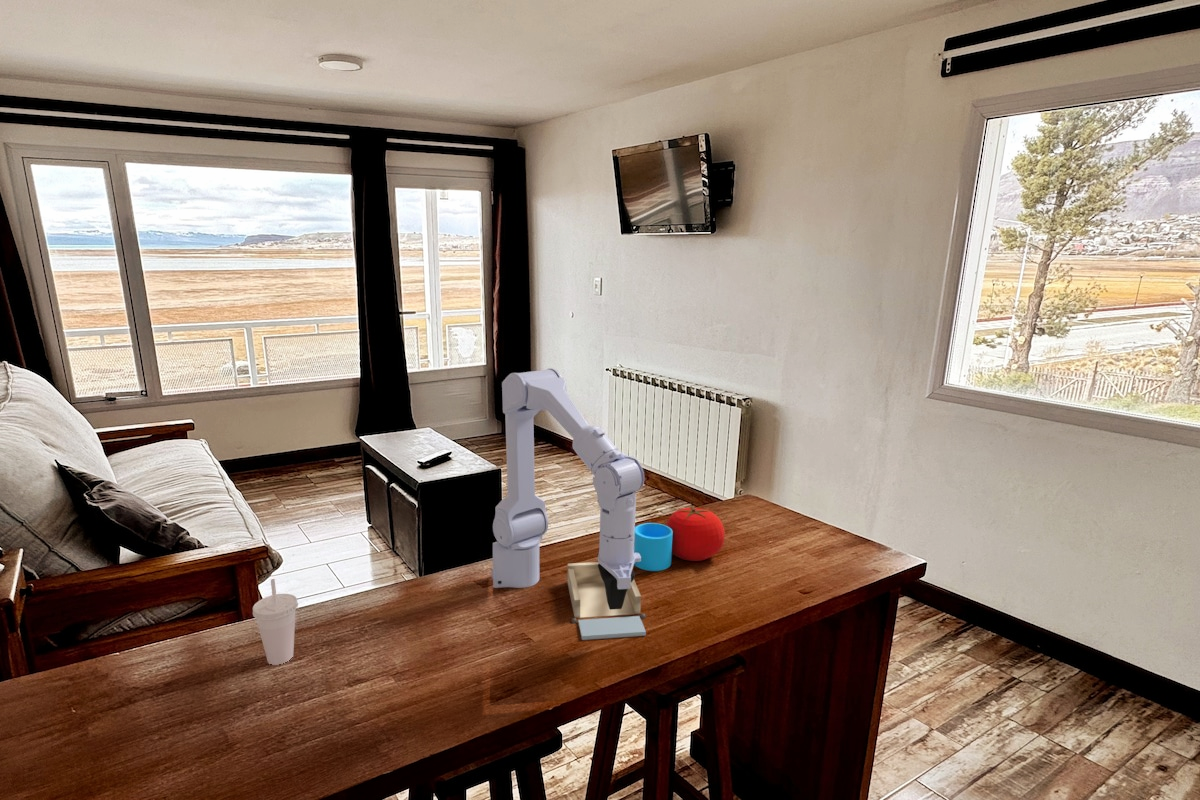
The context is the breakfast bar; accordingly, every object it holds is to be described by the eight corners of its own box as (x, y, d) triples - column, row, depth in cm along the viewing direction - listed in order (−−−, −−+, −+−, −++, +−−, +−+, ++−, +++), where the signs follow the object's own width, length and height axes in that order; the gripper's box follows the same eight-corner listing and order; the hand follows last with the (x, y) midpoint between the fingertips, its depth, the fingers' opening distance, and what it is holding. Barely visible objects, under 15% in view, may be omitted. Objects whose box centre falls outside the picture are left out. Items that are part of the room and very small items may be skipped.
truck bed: (572, 628, 112) (572, 602, 110) (564, 586, 126) (564, 563, 125) (645, 623, 114) (646, 597, 112) (629, 583, 128) (630, 560, 127)
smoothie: (257, 675, 97) (248, 592, 94) (258, 652, 103) (249, 573, 100) (303, 663, 100) (296, 583, 97) (301, 642, 106) (294, 565, 103)
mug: (678, 569, 134) (680, 533, 132) (648, 579, 130) (649, 542, 128) (644, 548, 144) (646, 514, 142) (615, 556, 139) (616, 521, 138)
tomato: (654, 548, 143) (656, 503, 141) (704, 540, 148) (707, 496, 146) (679, 572, 132) (682, 523, 130) (733, 563, 137) (736, 515, 135)
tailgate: (578, 624, 112) (582, 640, 107) (578, 619, 112) (582, 636, 106) (639, 620, 113) (645, 636, 108) (639, 615, 113) (645, 631, 108)
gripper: (651, 550, 97) (647, 630, 100) (632, 513, 111) (630, 584, 114) (605, 552, 96) (603, 632, 98) (592, 514, 110) (591, 586, 112)
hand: (614, 607), depth 106 cm, fingers closed
